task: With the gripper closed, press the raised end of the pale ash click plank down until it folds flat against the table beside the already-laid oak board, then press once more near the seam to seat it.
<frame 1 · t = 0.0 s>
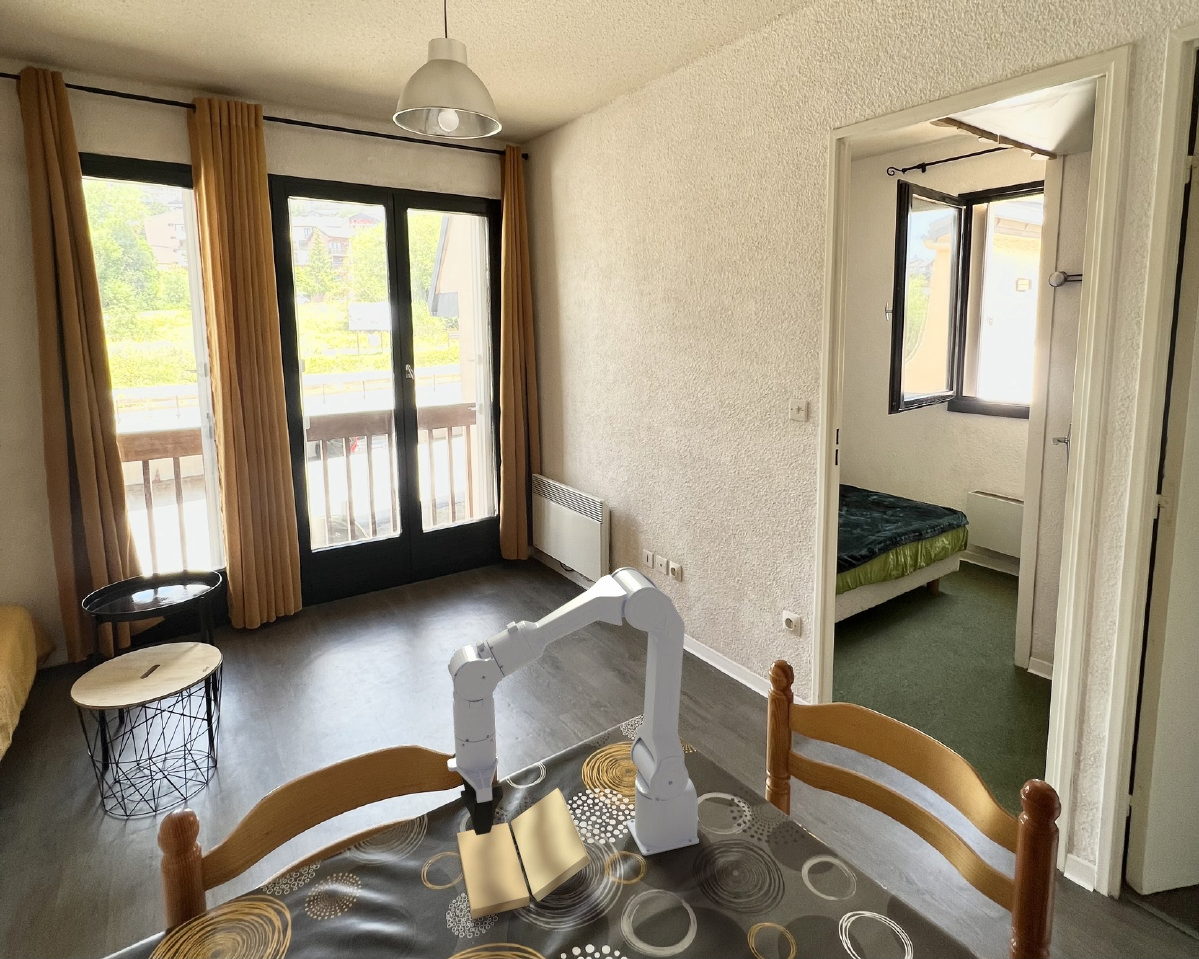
hand: (478, 815, 108), 10 cm above the table, fingers open, 7 cm apart
laid oak board: (491, 871, 111), on the table
click plank: (548, 840, 113), point 3 cm above the table, hinge at 30.0°
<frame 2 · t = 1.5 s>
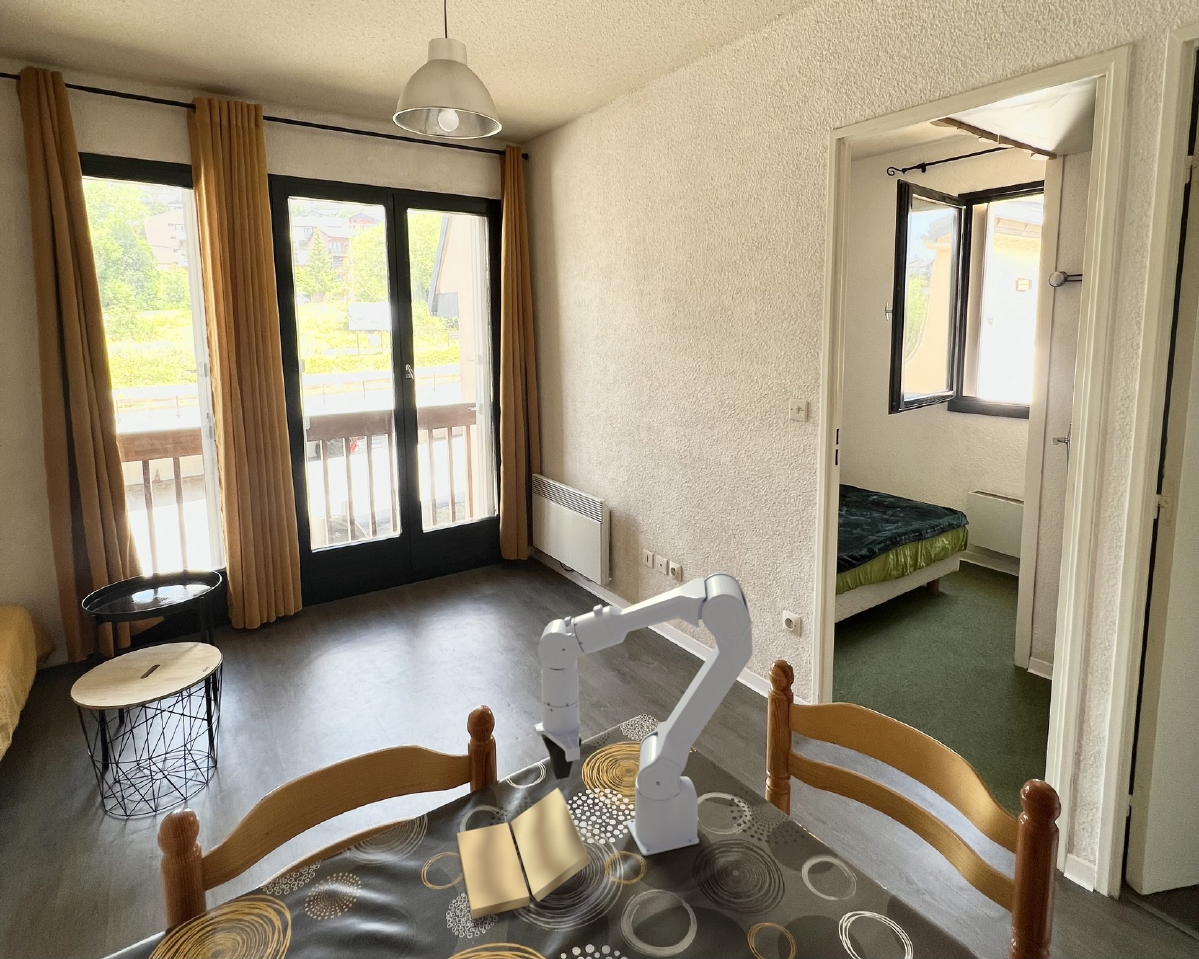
hand: (561, 775, 118), 9 cm above the table, fingers closed
nothing on the table moved.
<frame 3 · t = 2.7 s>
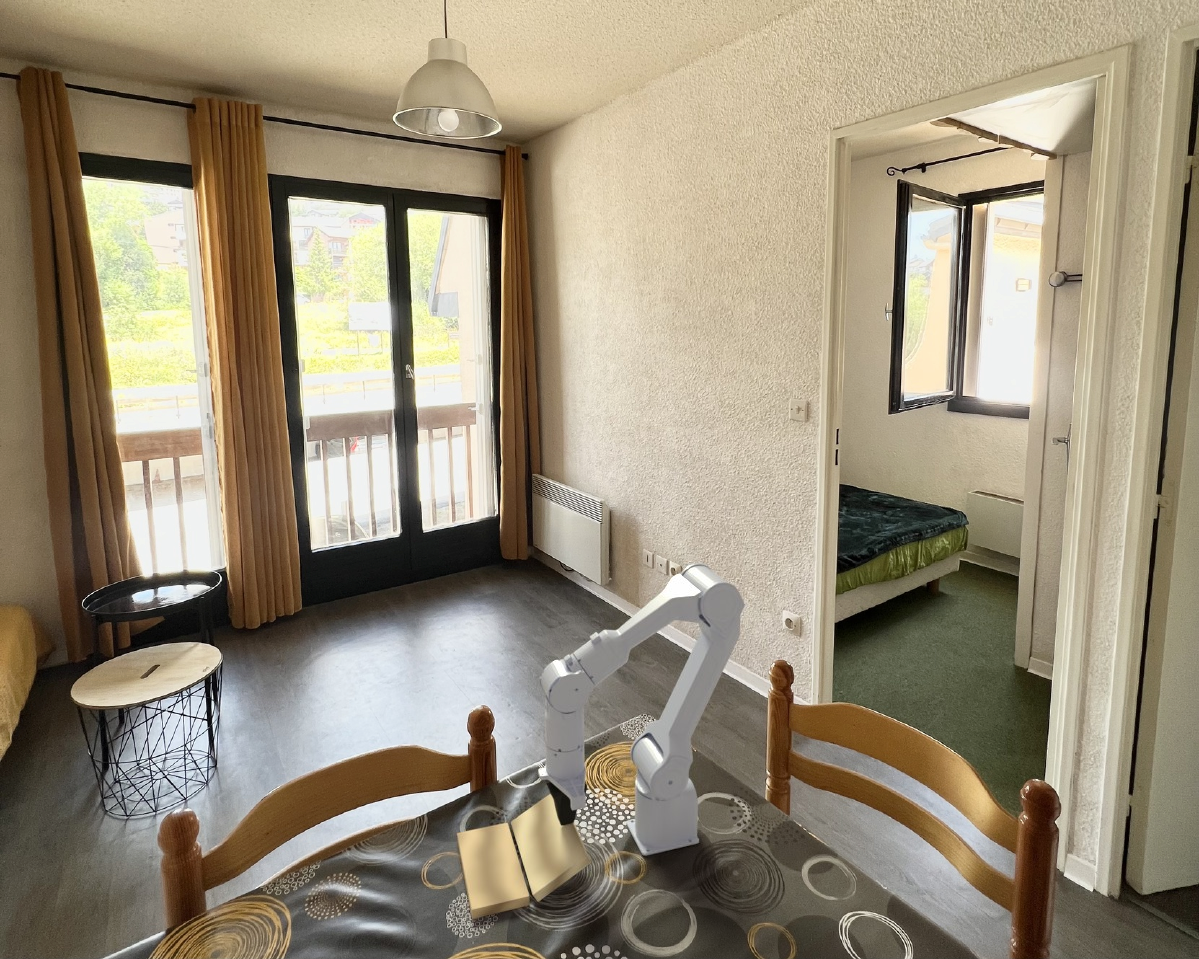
hand: (566, 821, 113), 6 cm above the table, fingers closed, pressing on click plank
click plank: (548, 841, 113), point 3 cm above the table, hinge at 29.2°, touching gripper
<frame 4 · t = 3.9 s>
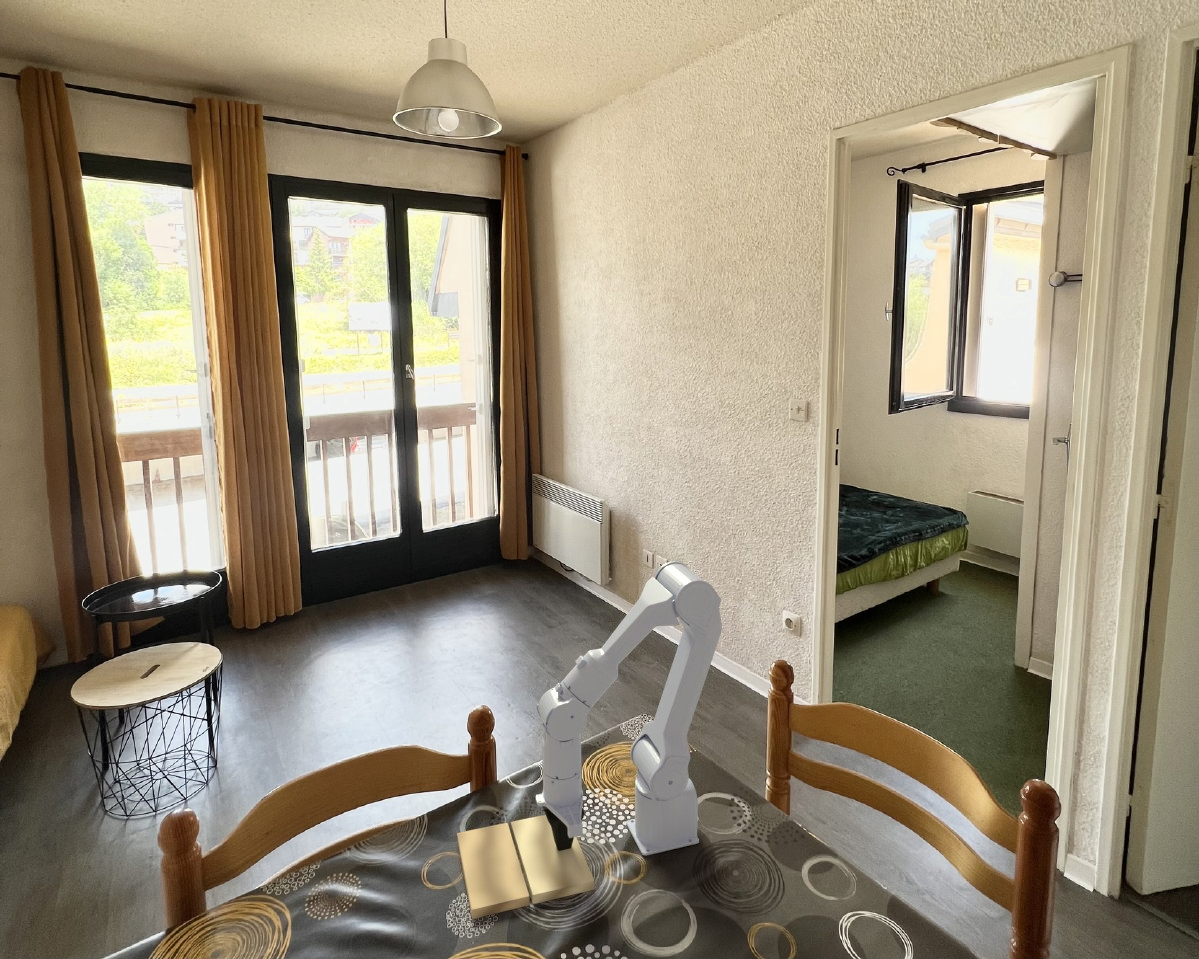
hand: (563, 847, 114), 1 cm above the table, fingers closed, pressing on click plank
click plank: (550, 853, 113), point 1 cm above the table, hinge at -0.2°, touching gripper
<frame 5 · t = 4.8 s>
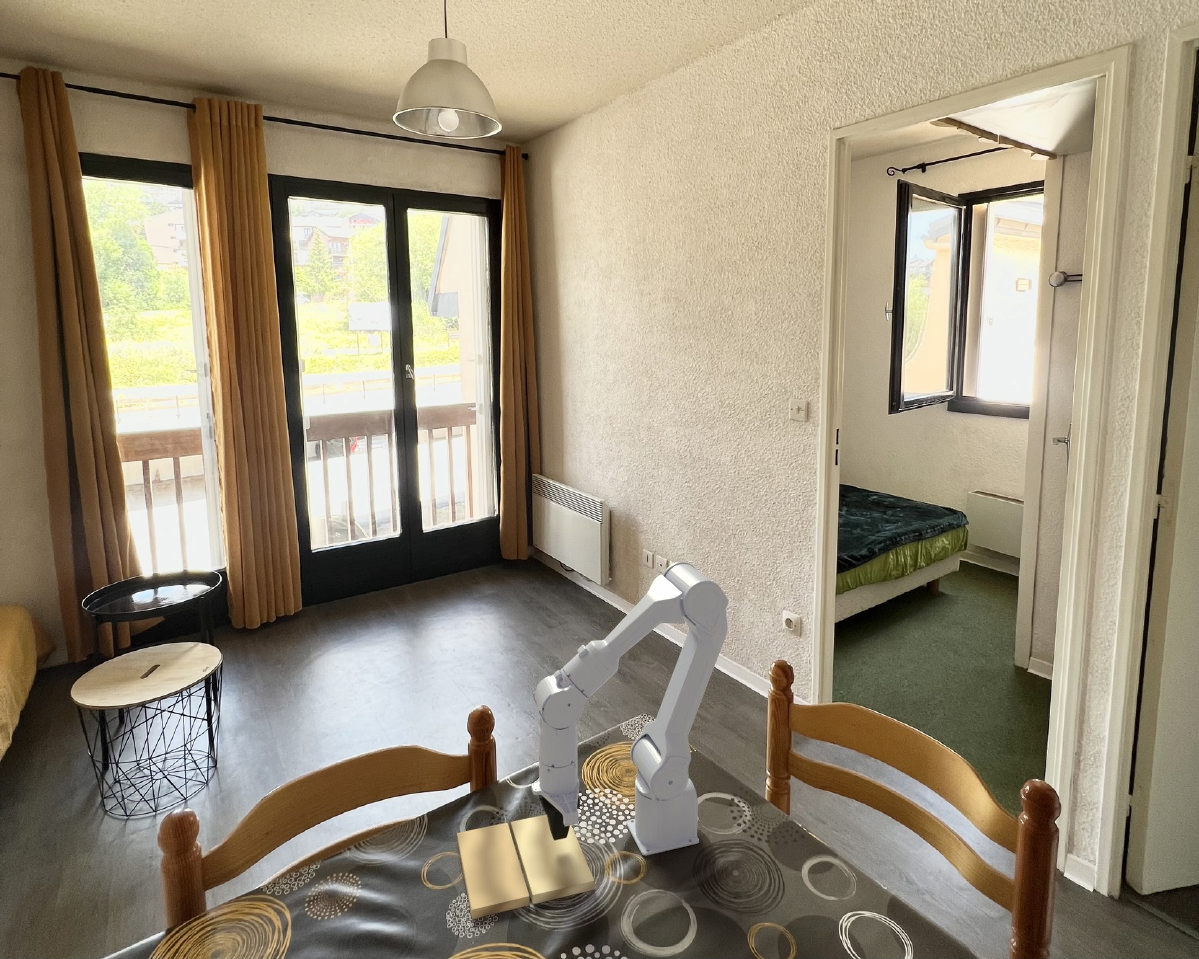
hand: (559, 836, 113), 3 cm above the table, fingers closed
click plank: (550, 853, 113), point 1 cm above the table, hinge at -0.2°
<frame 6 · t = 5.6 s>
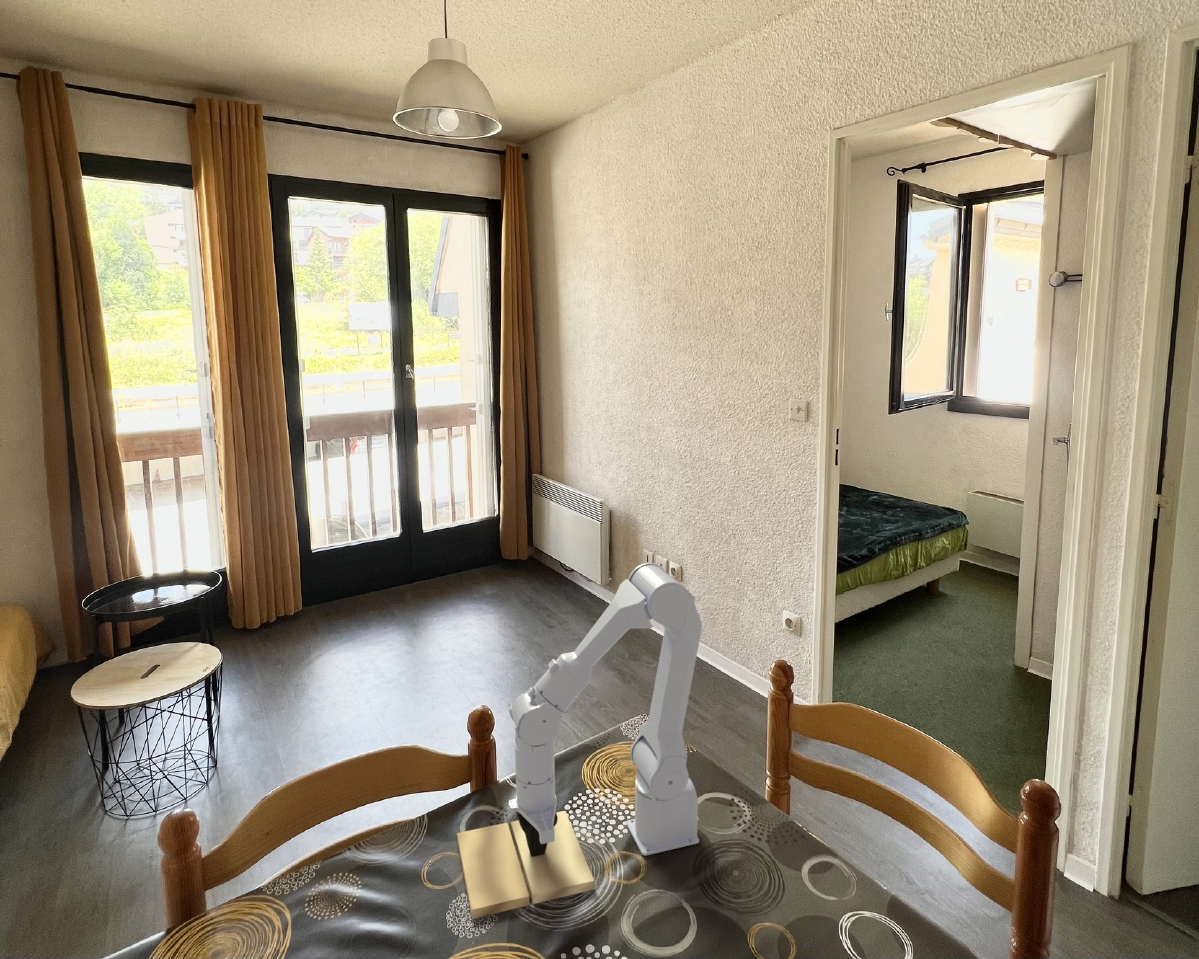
hand: (537, 852, 113), 1 cm above the table, fingers closed, pressing on click plank
click plank: (550, 853, 113), point 1 cm above the table, hinge at -0.2°, touching gripper
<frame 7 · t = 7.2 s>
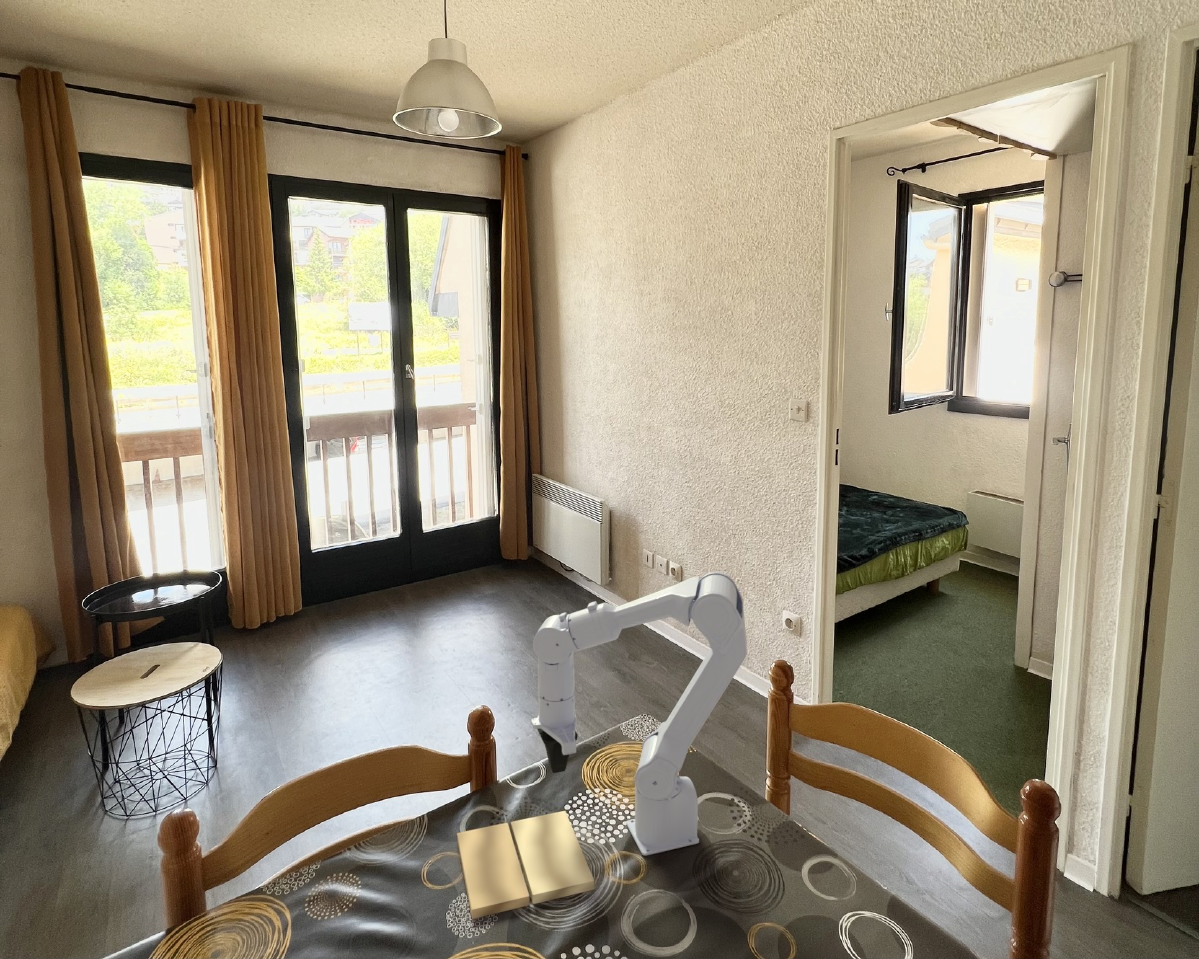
hand: (557, 769, 120), 9 cm above the table, fingers closed
click plank: (550, 853, 113), point 1 cm above the table, hinge at -0.2°
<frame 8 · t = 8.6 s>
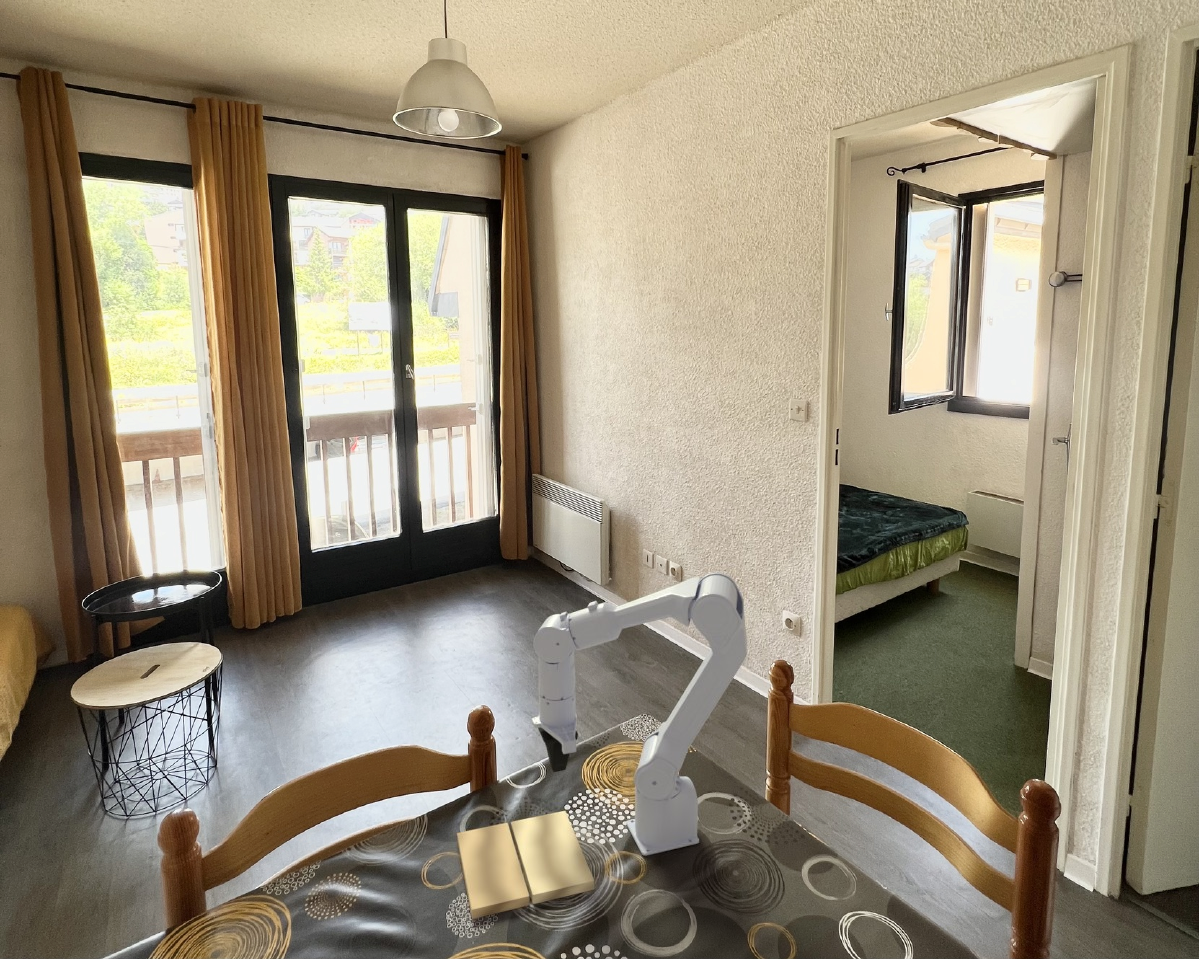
hand: (558, 768, 120), 9 cm above the table, fingers closed
nothing on the table moved.
at the end: click plank at +0° (first picture: +30°) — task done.
